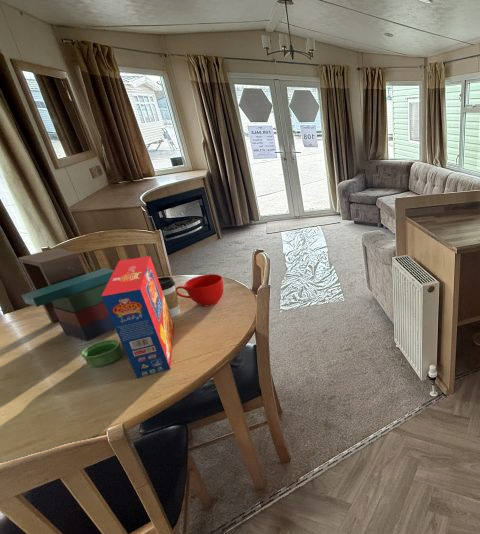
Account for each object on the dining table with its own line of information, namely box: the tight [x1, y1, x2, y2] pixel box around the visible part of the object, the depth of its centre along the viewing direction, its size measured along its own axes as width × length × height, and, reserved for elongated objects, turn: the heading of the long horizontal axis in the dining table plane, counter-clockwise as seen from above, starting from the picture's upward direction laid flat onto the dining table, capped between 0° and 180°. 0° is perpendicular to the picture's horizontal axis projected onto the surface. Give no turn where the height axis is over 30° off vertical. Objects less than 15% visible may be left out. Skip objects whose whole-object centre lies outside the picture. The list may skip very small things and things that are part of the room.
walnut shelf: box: [17, 248, 87, 324], centre depth 123 cm, size 12×10×26 cm
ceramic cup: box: [175, 273, 225, 307], centre depth 139 cm, size 13×17×10 cm
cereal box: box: [101, 255, 175, 379], centre depth 107 cm, size 28×8×28 cm, turn 33°
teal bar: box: [20, 268, 114, 307], centre depth 114 cm, size 6×22×3 cm, turn 162°
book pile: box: [52, 281, 116, 342], centre depth 121 cm, size 12×16×16 cm
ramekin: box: [80, 339, 123, 368], centre depth 107 cm, size 9×9×4 cm
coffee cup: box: [158, 276, 181, 319], centre depth 129 cm, size 8×8×15 cm
